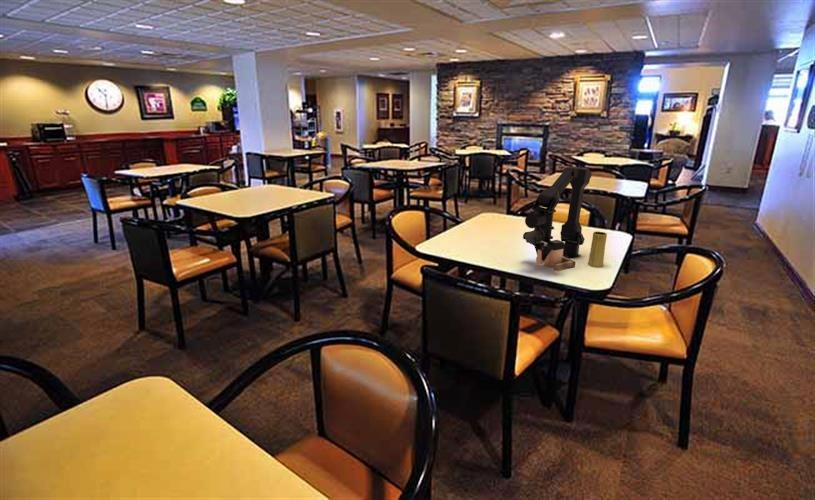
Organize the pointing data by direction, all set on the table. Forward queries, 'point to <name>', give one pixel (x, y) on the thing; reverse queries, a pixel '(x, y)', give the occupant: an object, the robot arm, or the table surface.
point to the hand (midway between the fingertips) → (541, 259)
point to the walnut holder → (564, 264)
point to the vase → (597, 249)
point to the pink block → (550, 258)
